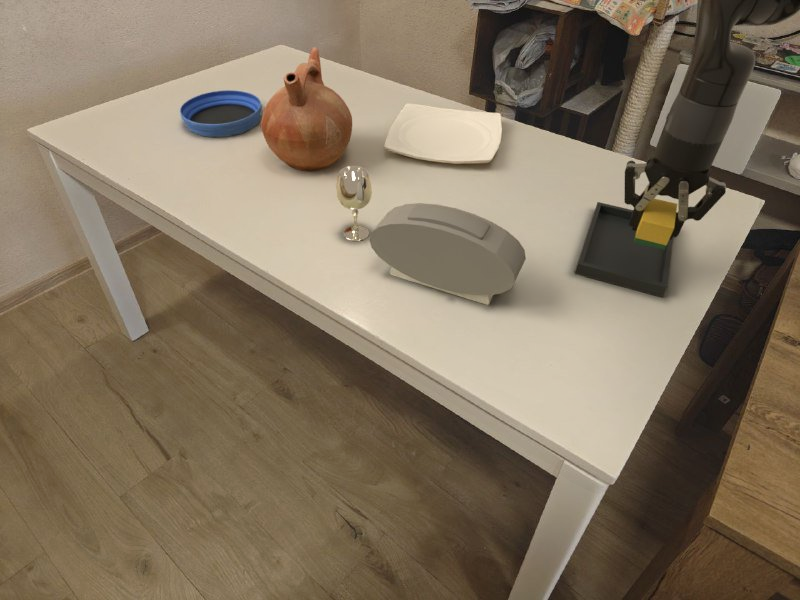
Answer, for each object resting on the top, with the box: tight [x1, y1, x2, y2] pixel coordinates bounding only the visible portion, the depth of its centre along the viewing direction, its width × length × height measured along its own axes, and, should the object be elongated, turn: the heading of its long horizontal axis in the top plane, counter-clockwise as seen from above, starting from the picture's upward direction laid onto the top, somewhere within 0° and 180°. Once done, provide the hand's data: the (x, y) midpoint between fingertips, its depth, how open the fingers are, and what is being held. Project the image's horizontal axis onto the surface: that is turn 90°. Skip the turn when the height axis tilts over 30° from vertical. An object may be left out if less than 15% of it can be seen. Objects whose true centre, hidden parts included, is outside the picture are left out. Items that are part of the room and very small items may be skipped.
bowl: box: [179, 89, 263, 138], centre depth 126 cm, size 18×18×4 cm
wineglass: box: [336, 165, 373, 242], centre depth 92 cm, size 6×6×12 cm
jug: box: [260, 46, 353, 172], centre depth 108 cm, size 18×18×20 cm
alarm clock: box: [368, 202, 526, 306], centre depth 83 cm, size 23×6×13 cm, turn 65°
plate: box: [383, 102, 503, 165], centre depth 120 cm, size 24×24×3 cm
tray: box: [574, 201, 674, 298], centre depth 93 cm, size 20×14×2 cm
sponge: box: [634, 198, 678, 250], centre depth 83 cm, size 7×4×4 cm, turn 156°
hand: (651, 231), depth 84 cm, fingers closed on sponge, 4 cm apart
